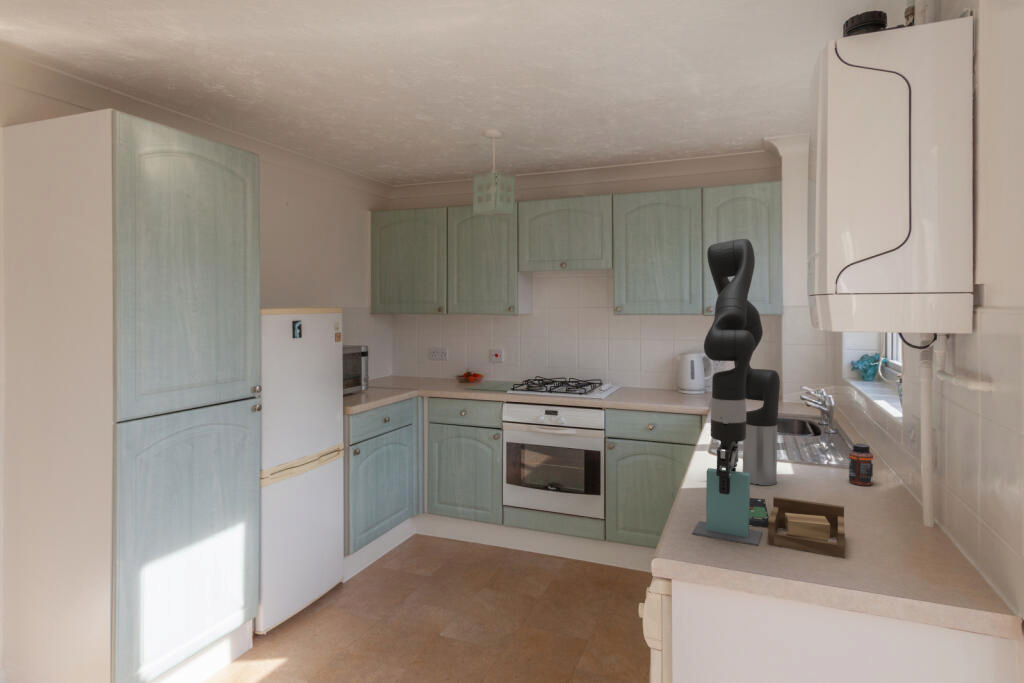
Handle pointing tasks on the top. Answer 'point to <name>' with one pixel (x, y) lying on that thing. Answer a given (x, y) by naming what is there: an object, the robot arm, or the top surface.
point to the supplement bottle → (861, 465)
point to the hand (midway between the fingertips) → (727, 488)
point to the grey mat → (728, 535)
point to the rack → (777, 520)
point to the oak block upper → (807, 525)
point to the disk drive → (758, 513)
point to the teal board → (728, 504)
